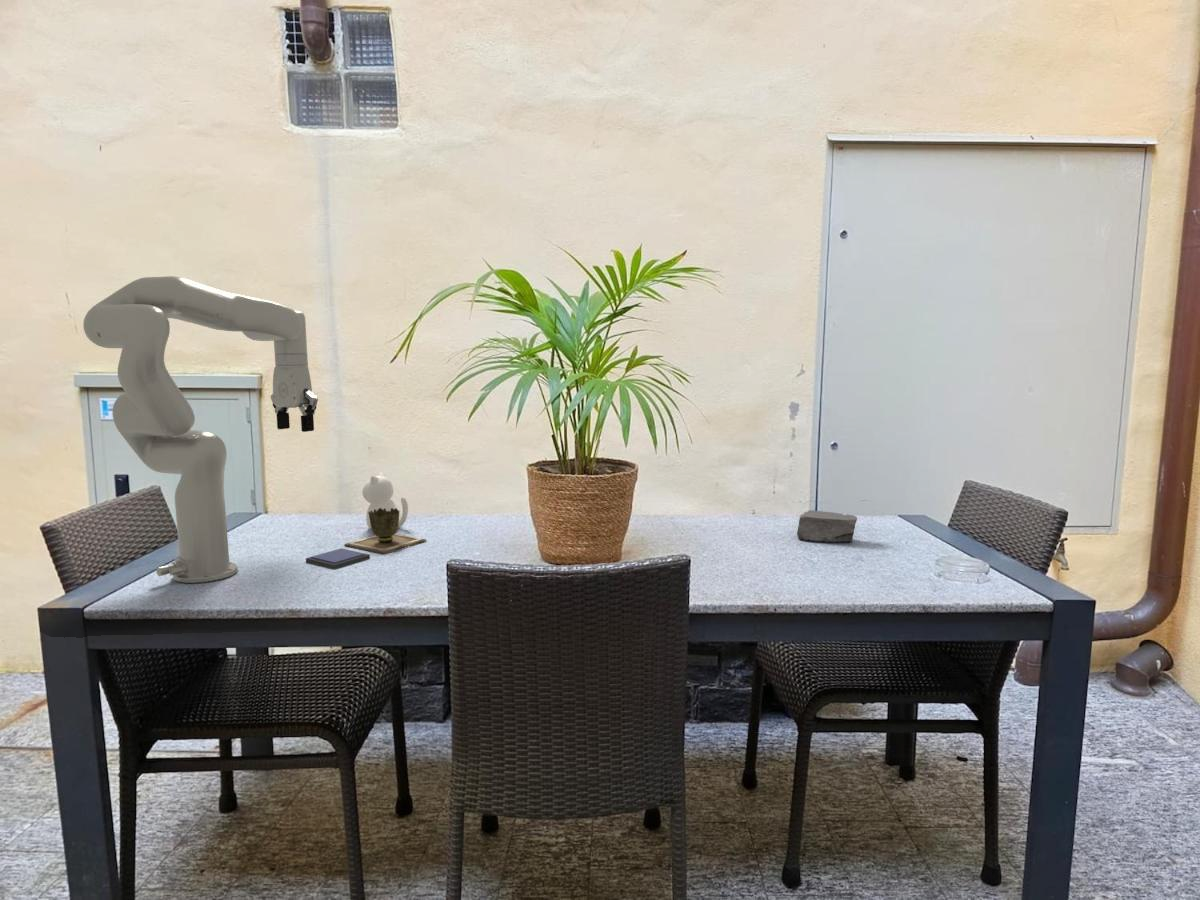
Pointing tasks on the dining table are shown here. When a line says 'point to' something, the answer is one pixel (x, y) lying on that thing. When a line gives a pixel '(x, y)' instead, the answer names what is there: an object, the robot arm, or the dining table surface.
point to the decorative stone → (826, 527)
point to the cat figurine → (382, 497)
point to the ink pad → (337, 558)
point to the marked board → (383, 548)
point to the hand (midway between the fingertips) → (295, 430)
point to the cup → (384, 524)
